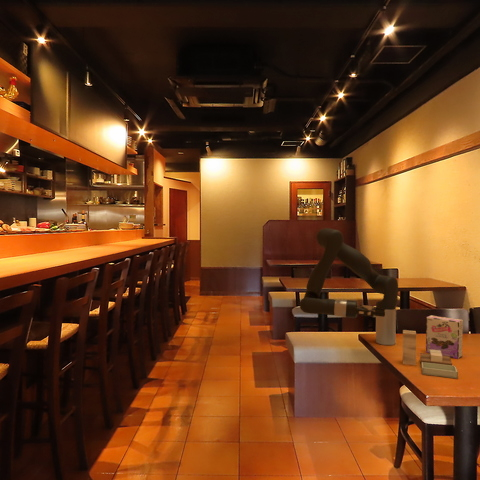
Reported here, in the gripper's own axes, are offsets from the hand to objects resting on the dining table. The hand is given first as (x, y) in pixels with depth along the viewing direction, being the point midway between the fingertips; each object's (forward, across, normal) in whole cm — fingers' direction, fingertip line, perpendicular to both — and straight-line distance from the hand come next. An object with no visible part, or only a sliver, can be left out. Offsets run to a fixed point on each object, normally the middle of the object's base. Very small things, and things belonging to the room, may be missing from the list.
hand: (384, 312), depth 170 cm
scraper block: (+11, 0, +20) cm, 23 cm away
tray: (+20, -10, +20) cm, 30 cm away
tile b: (+20, -3, +17) cm, 26 cm away
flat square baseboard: (+21, 0, +20) cm, 28 cm away
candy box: (+26, +18, +19) cm, 37 cm away
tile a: (+20, +1, +16) cm, 26 cm away
